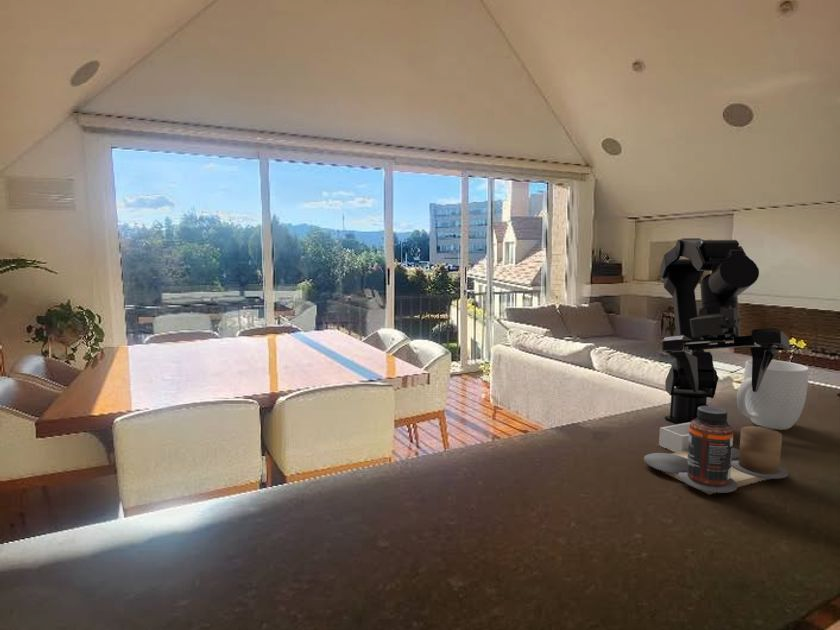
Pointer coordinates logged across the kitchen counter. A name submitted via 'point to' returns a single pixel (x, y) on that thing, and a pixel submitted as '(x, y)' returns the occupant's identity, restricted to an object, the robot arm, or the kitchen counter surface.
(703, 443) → the supplement bottle
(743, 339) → the robot arm
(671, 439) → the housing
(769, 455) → the board
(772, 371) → the mug
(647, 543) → the kitchen counter surface
